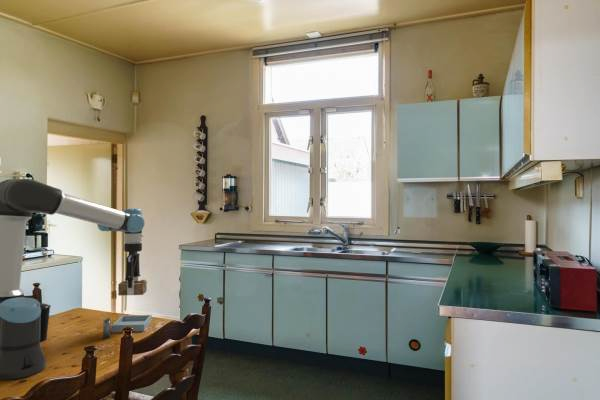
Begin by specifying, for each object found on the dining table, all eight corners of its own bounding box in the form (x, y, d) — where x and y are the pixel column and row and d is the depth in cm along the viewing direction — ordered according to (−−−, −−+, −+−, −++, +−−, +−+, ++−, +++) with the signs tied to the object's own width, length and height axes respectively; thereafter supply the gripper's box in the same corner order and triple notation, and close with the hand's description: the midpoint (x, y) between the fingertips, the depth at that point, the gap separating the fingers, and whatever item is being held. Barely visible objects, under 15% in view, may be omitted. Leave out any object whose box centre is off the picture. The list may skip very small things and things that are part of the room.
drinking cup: (53, 340, 171) (53, 291, 171) (31, 344, 165) (31, 294, 165) (47, 336, 176) (47, 288, 176) (26, 340, 170) (26, 291, 170)
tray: (144, 331, 183) (144, 324, 183) (111, 332, 181) (111, 325, 181) (151, 321, 198) (151, 314, 198) (121, 322, 197) (121, 315, 197)
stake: (109, 339, 172) (109, 319, 172) (101, 339, 172) (102, 319, 172) (111, 336, 176) (111, 317, 176) (104, 336, 176) (104, 317, 176)
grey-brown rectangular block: (118, 295, 185) (118, 282, 185) (123, 291, 193) (123, 278, 193) (142, 294, 187) (142, 281, 187) (146, 291, 194) (146, 278, 194)
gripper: (136, 244, 180) (135, 297, 180) (146, 240, 200) (146, 288, 200) (117, 244, 179) (117, 298, 179) (130, 240, 199) (130, 288, 199)
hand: (132, 292), depth 190 cm, fingers closed on grey-brown rectangular block, 7 cm apart
